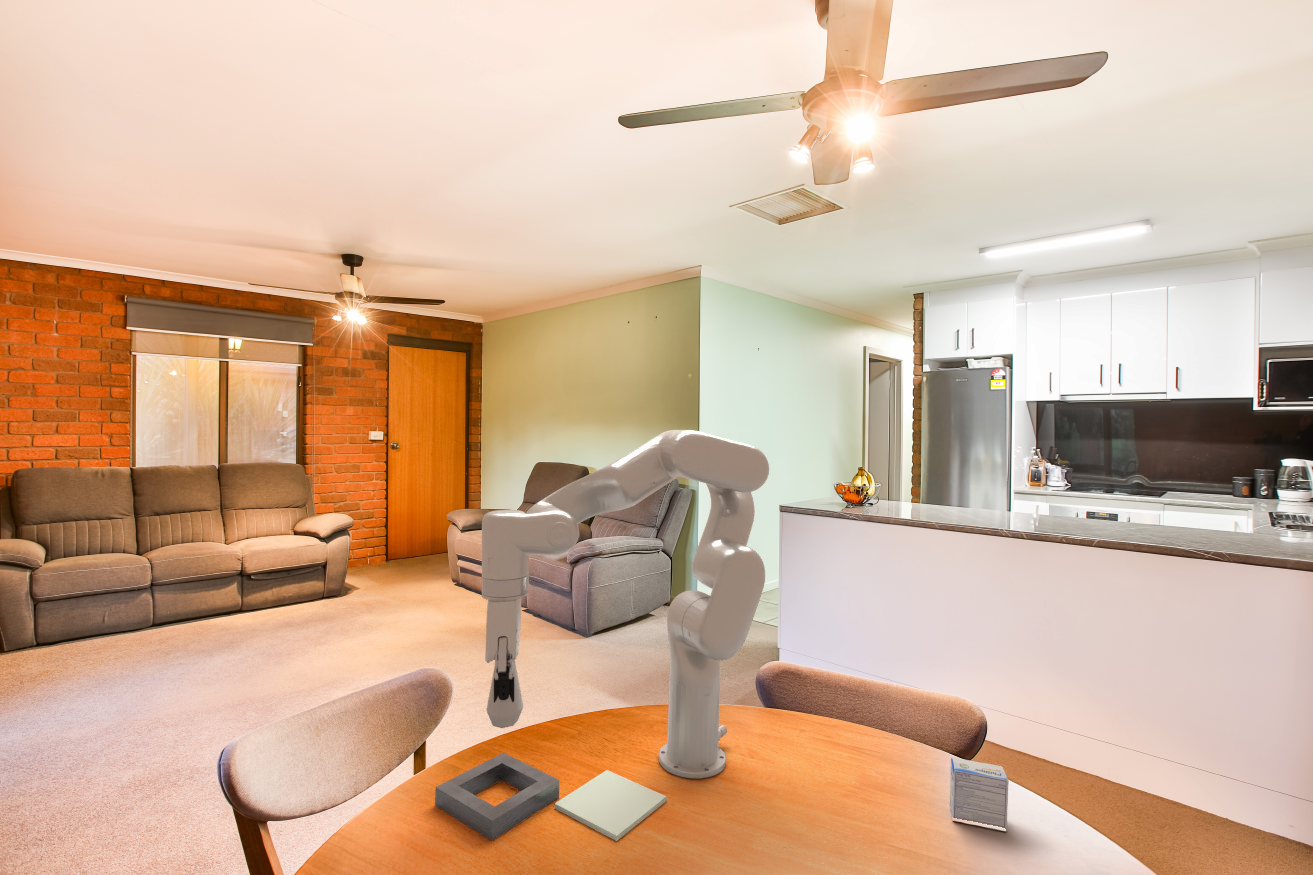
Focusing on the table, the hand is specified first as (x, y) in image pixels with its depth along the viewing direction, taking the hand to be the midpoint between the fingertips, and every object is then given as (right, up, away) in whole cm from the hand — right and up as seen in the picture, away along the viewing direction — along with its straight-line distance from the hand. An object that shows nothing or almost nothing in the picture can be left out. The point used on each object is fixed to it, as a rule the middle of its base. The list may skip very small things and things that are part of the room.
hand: (505, 696), depth 102 cm
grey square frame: (-1, -17, 0) cm, 17 cm away
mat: (+18, -18, 0) cm, 25 cm away
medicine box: (+77, -20, -1) cm, 80 cm away
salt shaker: (0, -5, 0) cm, 5 cm away
